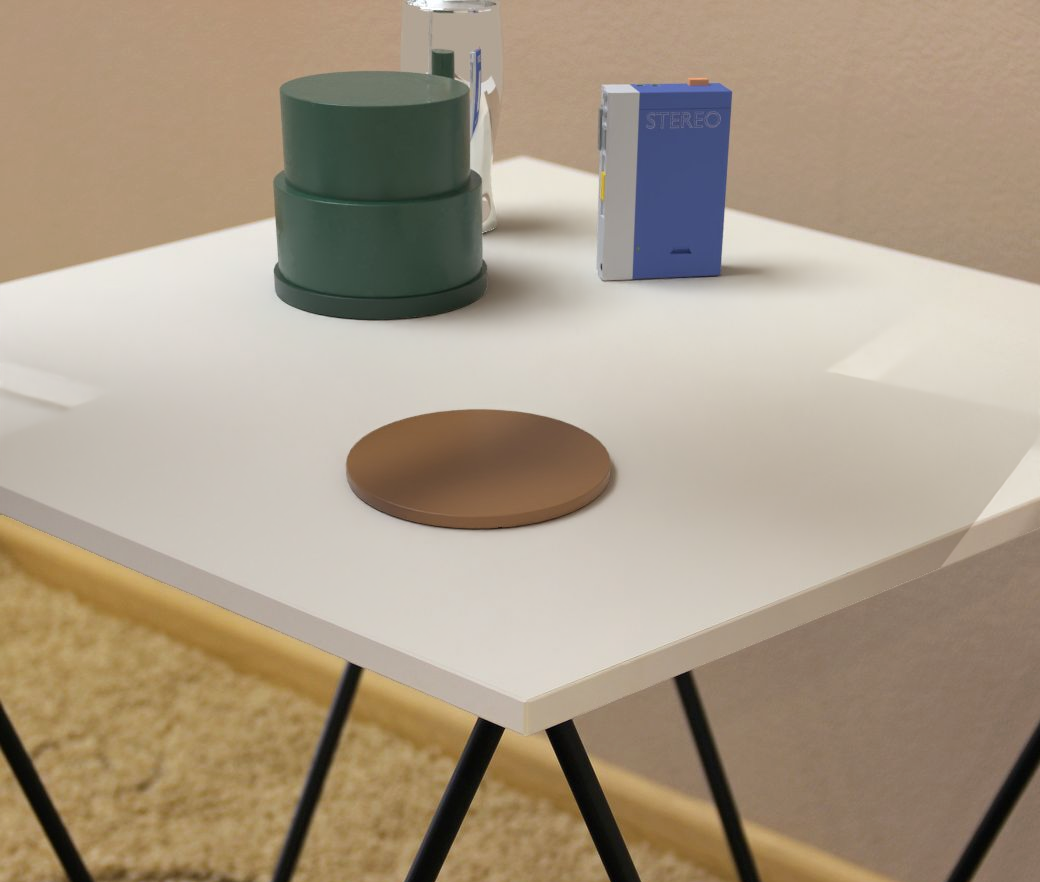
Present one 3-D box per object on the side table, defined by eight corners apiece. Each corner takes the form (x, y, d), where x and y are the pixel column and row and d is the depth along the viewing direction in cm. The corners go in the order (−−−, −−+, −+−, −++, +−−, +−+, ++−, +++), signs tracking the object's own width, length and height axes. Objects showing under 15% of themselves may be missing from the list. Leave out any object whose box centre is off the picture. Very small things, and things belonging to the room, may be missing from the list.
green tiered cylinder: (229, 294, 92) (213, 91, 86) (360, 244, 102) (353, 60, 97) (407, 334, 86) (401, 119, 81) (526, 276, 96) (528, 83, 91)
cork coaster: (291, 487, 67) (290, 475, 67) (443, 402, 77) (443, 391, 77) (523, 554, 62) (523, 541, 62) (655, 453, 72) (656, 442, 72)
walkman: (708, 263, 100) (719, 76, 95) (720, 276, 98) (733, 85, 92) (591, 268, 98) (596, 78, 93) (600, 280, 96) (606, 86, 91)
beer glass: (448, 207, 111) (445, -8, 105) (523, 224, 108) (525, 2, 101) (383, 226, 106) (376, 1, 100) (459, 244, 102) (457, 12, 96)
